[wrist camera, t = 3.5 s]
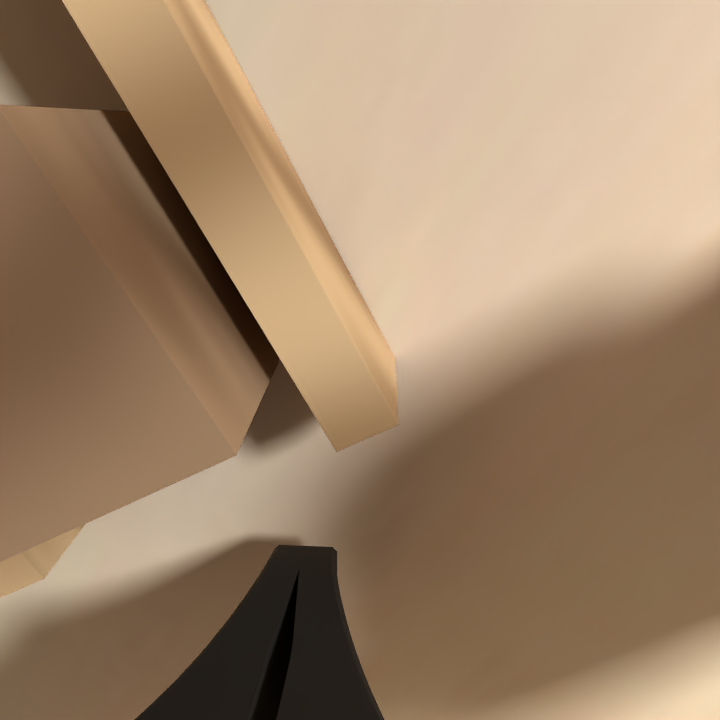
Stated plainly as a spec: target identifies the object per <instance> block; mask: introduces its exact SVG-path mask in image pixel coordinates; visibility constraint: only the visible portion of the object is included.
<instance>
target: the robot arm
mask: <svg viewBox="0 0 720 720" xmlns="http://www.w3.org/2000/svg"><path fill="white" fill-rule="evenodd" d="M135 720H384V718H383V716H382V714H381V712H380V710H379V707H378V705H377V703H376V701H375V699H374V696H373V694H372V692H371V689H370V687H369V685H368V682H367V680H366V677H365V675H364V672H363V670H362V667H361V664H360V662H359V659H358V656H357V653H356V650H355V647H354V644H353V641H352V638H351V635H350V632H349V628H348V625H347V621H346V617H345V613H344V609H343V605H342V601H341V596H340V591H339V585H338V579H337V551H336V550H335V549H334V548H333V547H316V546H290V545H279V546H278V547H277V548H275V549H274V551H273V553H272V555H271V557H270V559H269V560H268V562H267V564H266V565H265V567H264V569H263V570H262V572H261V574H260V575H259V577H258V578H257V580H256V581H255V583H254V584H253V586H252V587H251V589H250V590H249V592H248V593H247V595H246V596H245V597H244V599H243V600H242V602H241V603H240V604H239V606H238V607H237V609H236V610H235V611H234V613H233V614H232V615H231V617H230V618H229V619H228V621H227V622H226V623H225V624H224V626H223V627H222V628H221V629H220V631H219V632H218V633H217V634H216V636H215V637H214V638H213V639H212V641H211V642H210V643H209V644H208V645H207V647H206V648H205V649H204V650H203V651H202V652H201V654H200V655H199V656H198V657H197V658H196V659H195V660H194V661H193V663H192V664H191V665H190V666H189V667H188V668H187V669H186V670H185V671H184V672H183V673H182V674H181V675H180V676H179V678H178V679H177V680H176V681H175V682H174V683H173V684H172V685H171V686H170V687H169V688H168V689H167V690H166V691H164V692H163V693H162V694H161V695H160V696H159V697H158V698H157V699H156V700H155V701H154V702H153V703H152V704H151V705H150V706H149V707H148V708H147V709H146V710H145V711H144V712H142V713H141V714H140V715H139V716H138V717H137V718H136V719H135Z"/></svg>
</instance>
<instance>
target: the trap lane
mask: <svg viewBox="0 0 720 720" xmlns="http://www.w3.org/2000/svg"><path fill="white" fill-rule="evenodd" d="M62 2H63V3H64V5H65V6H66V8H67V10H68V11H69V13H70V15H71V16H72V18H73V20H74V21H75V23H76V25H77V26H78V28H79V29H80V31H81V33H82V34H83V36H84V38H85V39H86V41H87V43H88V44H89V46H90V48H91V49H92V51H93V52H94V54H95V56H96V57H97V59H98V61H99V62H100V64H101V66H102V67H103V69H104V71H105V72H106V74H107V75H108V77H109V79H110V80H111V82H112V84H113V85H114V87H115V89H116V90H117V92H118V94H119V95H120V97H121V98H122V100H123V102H124V103H125V105H126V107H127V108H128V110H129V112H130V113H131V115H132V117H133V118H134V120H135V121H136V123H137V125H138V126H139V128H140V130H141V131H142V133H143V135H144V136H145V138H146V140H147V141H148V143H149V144H150V146H151V148H152V149H153V151H154V153H155V154H156V156H157V158H158V159H159V161H160V163H161V164H162V166H163V167H164V169H165V171H166V172H167V174H168V176H169V177H170V179H171V181H172V182H173V184H174V186H175V187H176V189H177V191H178V192H179V194H180V195H181V197H182V199H183V200H184V202H185V204H186V205H187V207H188V209H189V210H190V212H191V214H192V215H193V217H194V218H195V220H196V222H197V223H198V225H199V227H200V228H201V230H202V232H203V233H204V235H205V237H206V238H207V240H208V241H209V243H210V245H211V246H212V248H213V250H214V251H215V253H216V255H217V256H218V258H219V260H220V261H221V263H222V264H223V266H224V268H225V269H226V271H227V273H228V274H229V276H230V278H231V279H232V281H233V283H234V284H235V286H236V287H237V289H238V291H239V292H240V294H241V296H242V297H243V299H244V301H245V302H246V304H247V306H248V307H249V309H250V310H251V312H252V314H253V315H254V317H255V319H256V320H257V322H258V324H259V325H260V327H261V329H262V330H263V332H264V333H265V335H266V337H267V338H268V340H269V342H270V343H271V345H272V347H273V348H274V350H275V352H276V353H277V355H278V357H279V358H280V360H281V361H282V363H283V365H284V366H285V368H286V370H287V371H288V373H289V375H290V376H291V378H292V380H293V381H294V383H295V384H296V386H297V388H298V389H299V391H300V393H301V394H302V396H303V398H304V399H305V401H306V403H307V404H308V406H309V407H310V409H311V411H312V412H313V414H314V416H315V417H316V419H317V421H318V422H319V424H320V426H321V427H322V429H323V430H324V432H325V434H326V435H327V437H328V439H329V440H330V442H331V444H332V445H333V447H334V449H335V450H336V452H337V451H340V450H342V449H344V448H346V447H349V446H351V445H353V444H356V443H358V442H360V441H363V440H365V439H367V438H369V437H372V436H374V435H376V434H379V433H381V432H383V431H386V430H388V429H390V428H393V427H395V426H397V425H398V406H397V385H396V364H395V358H394V356H393V354H392V352H391V350H390V348H389V346H388V344H387V343H386V341H385V339H384V337H383V335H382V333H381V331H380V329H379V327H378V326H377V324H376V322H375V320H374V318H373V316H372V314H371V312H370V311H369V309H368V307H367V305H366V303H365V301H364V299H363V297H362V296H361V294H360V292H359V290H358V288H357V286H356V284H355V282H354V280H353V279H352V277H351V275H350V273H349V271H348V269H347V267H346V265H345V264H344V262H343V260H342V258H341V256H340V254H339V252H338V250H337V248H336V247H335V245H334V243H333V241H332V239H331V237H330V235H329V233H328V232H327V230H326V228H325V226H324V224H323V222H322V220H321V218H320V216H319V215H318V213H317V211H316V209H315V207H314V205H313V203H312V201H311V200H310V198H309V196H308V194H307V192H306V190H305V188H304V186H303V184H302V183H301V181H300V179H299V177H298V175H297V173H296V171H295V169H294V168H293V166H292V164H291V162H290V160H289V158H288V156H287V154H286V153H285V151H284V149H283V147H282V145H281V143H280V141H279V139H278V137H277V136H276V134H275V132H274V130H273V128H272V126H271V124H270V122H269V121H268V119H267V117H266V115H265V113H264V111H263V109H262V107H261V105H260V104H259V102H258V100H257V98H256V96H255V94H254V92H253V90H252V89H251V87H250V85H249V83H248V81H247V79H246V77H245V75H244V73H243V72H242V70H241V68H240V66H239V64H238V62H237V60H236V58H235V57H234V55H233V53H232V51H231V49H230V47H229V45H228V43H227V41H226V40H225V38H224V36H223V34H222V32H221V30H220V28H219V26H218V25H217V23H216V21H215V19H214V17H213V15H212V13H211V11H210V10H209V8H208V6H207V4H206V2H205V0H62ZM85 524H86V523H85ZM85 524H83V525H81V526H79V527H77V528H74V529H72V530H70V531H68V532H65V533H63V534H61V535H59V536H57V537H54V538H52V539H50V540H48V541H46V542H43V543H41V544H39V545H37V546H35V547H32V548H30V549H28V550H26V551H23V552H21V553H19V554H17V555H15V556H12V557H10V558H8V559H6V560H4V561H1V562H0V597H3V596H5V595H7V594H10V593H12V592H14V591H17V590H19V589H21V588H24V587H26V586H28V585H30V584H33V583H35V582H37V581H40V580H42V579H44V578H45V577H46V575H47V574H48V573H49V571H50V570H51V569H52V567H53V566H54V565H55V563H56V562H57V561H58V559H59V558H60V557H61V556H62V554H63V553H64V552H65V550H66V549H67V548H68V546H69V545H70V544H71V542H72V541H73V540H74V538H75V537H76V536H77V534H78V533H79V532H80V530H81V529H82V528H83V526H84V525H85Z"/></svg>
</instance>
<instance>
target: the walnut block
mask: <svg viewBox="0 0 720 720" xmlns="http://www.w3.org/2000/svg"><path fill="white" fill-rule="evenodd" d="M279 359H280V358H279V357H278V355H277V353H276V352H275V350H274V348H273V347H272V345H271V343H270V342H269V340H268V338H267V337H266V335H265V333H264V332H263V330H262V329H261V327H260V325H259V324H258V322H257V320H256V319H255V317H254V315H253V314H252V312H251V310H250V309H249V307H248V306H247V304H246V302H245V301H244V299H243V297H242V296H241V294H240V292H239V291H238V289H237V287H236V286H235V284H234V283H233V281H232V279H231V278H230V276H229V274H228V273H227V271H226V269H225V268H224V266H223V264H222V263H221V261H220V260H219V258H218V256H217V255H216V253H215V251H214V250H213V248H212V246H211V245H210V243H209V241H208V240H207V238H206V237H205V235H204V233H203V232H202V230H201V228H200V227H199V225H198V223H197V222H196V220H195V218H194V217H193V215H192V214H191V212H190V210H189V209H188V207H187V205H186V204H185V202H184V200H183V199H182V197H181V195H180V194H179V192H178V191H177V189H176V187H175V186H174V184H173V182H172V181H171V179H170V177H169V176H168V174H167V172H166V171H165V169H164V167H163V166H162V164H161V163H160V161H159V159H158V158H157V156H156V154H155V153H154V151H153V149H152V148H151V146H150V144H149V143H148V141H147V140H146V138H145V136H144V135H143V133H142V131H141V130H140V128H139V126H138V125H137V123H136V121H135V120H134V118H133V117H132V115H131V113H130V112H125V111H106V110H88V109H69V108H51V107H33V106H14V105H0V562H1V561H4V560H6V559H8V558H10V557H12V556H15V555H17V554H19V553H21V552H23V551H26V550H28V549H30V548H32V547H35V546H37V545H39V544H41V543H43V542H46V541H48V540H50V539H52V538H54V537H57V536H59V535H61V534H63V533H65V532H68V531H70V530H72V529H74V528H77V527H79V526H81V525H83V524H85V523H88V522H90V521H92V520H94V519H96V518H99V517H101V516H103V515H105V514H107V513H110V512H112V511H114V510H116V509H119V508H121V507H123V506H125V505H127V504H130V503H132V502H134V501H136V500H138V499H141V498H143V497H145V496H147V495H149V494H152V493H154V492H156V491H158V490H161V489H163V488H165V487H167V486H169V485H172V484H174V483H176V482H178V481H180V480H183V479H185V478H187V477H189V476H191V475H194V474H196V473H198V472H200V471H203V470H205V469H207V468H209V467H211V466H214V465H216V464H218V463H220V462H222V461H225V460H227V459H229V458H231V457H233V456H236V455H237V453H238V451H239V448H240V446H241V444H242V442H243V440H244V437H245V435H246V433H247V431H248V428H249V426H250V424H251V422H252V420H253V417H254V415H255V413H256V411H257V408H258V406H259V404H260V402H261V400H262V397H263V395H264V393H265V391H266V388H267V386H268V384H269V382H270V380H271V377H272V375H273V373H274V371H275V368H276V366H277V364H278V362H279Z"/></svg>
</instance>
